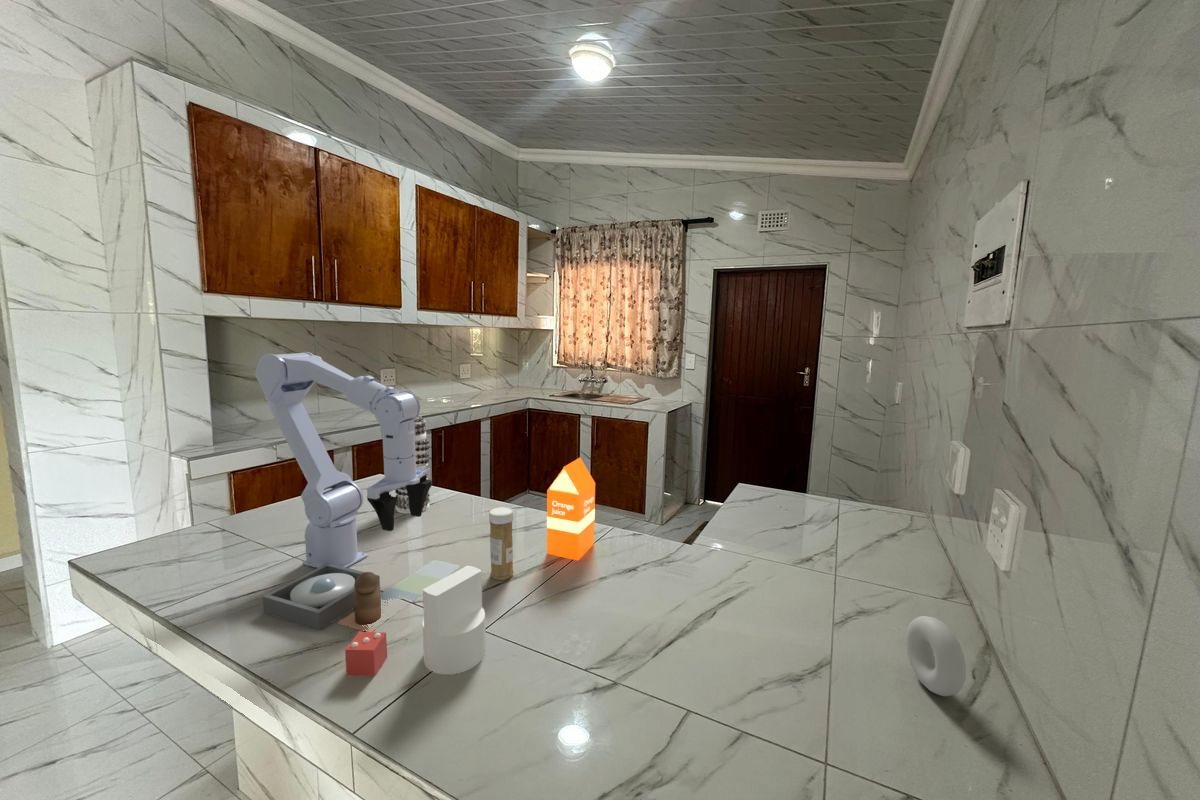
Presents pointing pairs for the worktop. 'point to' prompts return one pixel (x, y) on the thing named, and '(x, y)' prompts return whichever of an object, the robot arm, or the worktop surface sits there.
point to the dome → (322, 589)
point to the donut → (935, 656)
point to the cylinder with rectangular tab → (454, 622)
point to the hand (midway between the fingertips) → (402, 522)
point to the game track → (409, 587)
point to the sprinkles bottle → (501, 543)
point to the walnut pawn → (367, 599)
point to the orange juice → (571, 512)
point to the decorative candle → (420, 462)
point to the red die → (366, 654)
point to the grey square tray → (306, 615)
